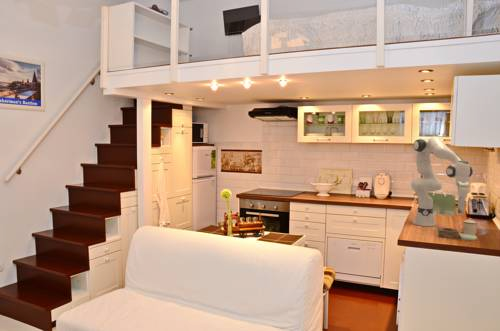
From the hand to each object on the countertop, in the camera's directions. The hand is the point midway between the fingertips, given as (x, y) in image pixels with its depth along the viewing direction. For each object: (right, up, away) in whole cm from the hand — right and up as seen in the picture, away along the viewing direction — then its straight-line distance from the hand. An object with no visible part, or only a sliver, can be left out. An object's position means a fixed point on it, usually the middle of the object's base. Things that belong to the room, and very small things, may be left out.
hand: (461, 202), depth 277 cm
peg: (0, -8, 0) cm, 8 cm away
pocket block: (-8, -25, +5) cm, 27 cm away
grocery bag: (+30, -20, +98) cm, 104 cm away
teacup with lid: (+13, -25, +16) cm, 33 cm away
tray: (+5, -26, 0) cm, 26 cm away
